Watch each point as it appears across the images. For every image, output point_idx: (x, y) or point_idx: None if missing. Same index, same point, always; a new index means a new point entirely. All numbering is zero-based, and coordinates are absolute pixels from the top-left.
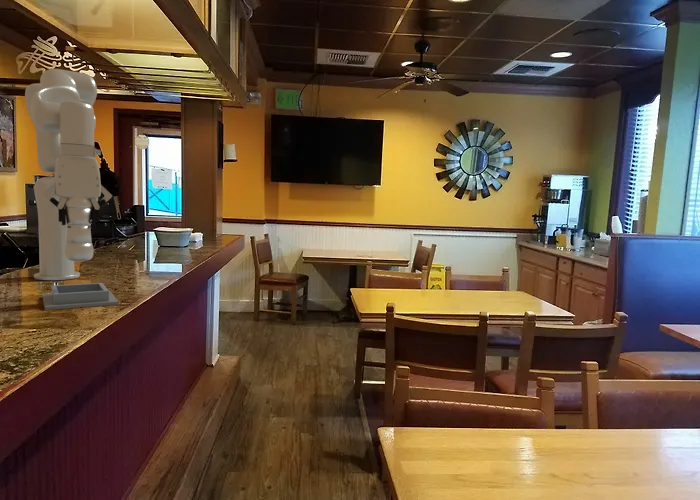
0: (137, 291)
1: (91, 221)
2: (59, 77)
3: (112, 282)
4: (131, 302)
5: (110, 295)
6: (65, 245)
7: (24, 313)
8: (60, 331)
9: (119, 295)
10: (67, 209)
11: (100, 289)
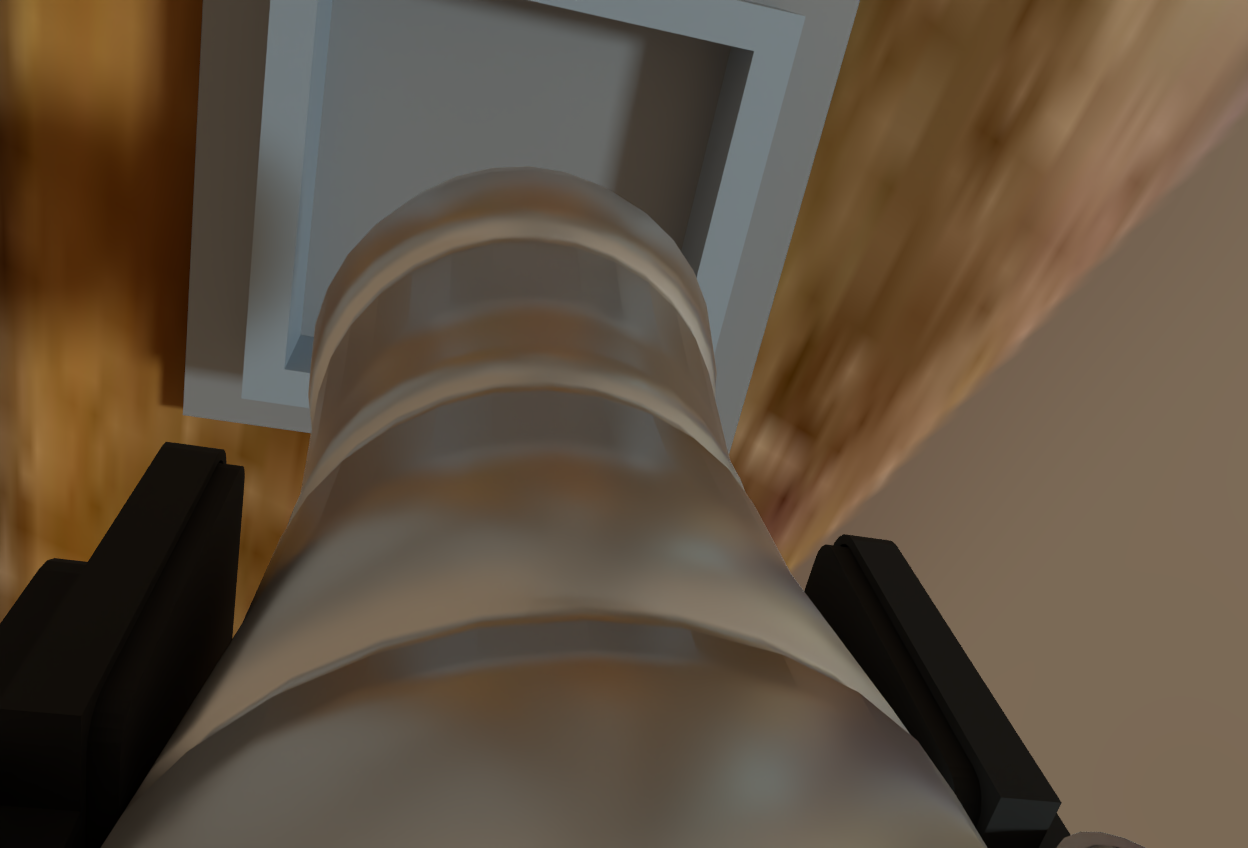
0: (1105, 21)
1: (829, 612)
2: None
3: None
4: (823, 446)
5: (765, 231)
6: (312, 376)
7: (40, 424)
8: None
9: (881, 126)
10: None
11: (712, 179)
